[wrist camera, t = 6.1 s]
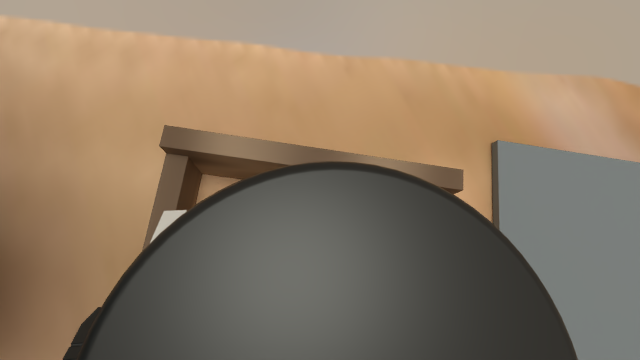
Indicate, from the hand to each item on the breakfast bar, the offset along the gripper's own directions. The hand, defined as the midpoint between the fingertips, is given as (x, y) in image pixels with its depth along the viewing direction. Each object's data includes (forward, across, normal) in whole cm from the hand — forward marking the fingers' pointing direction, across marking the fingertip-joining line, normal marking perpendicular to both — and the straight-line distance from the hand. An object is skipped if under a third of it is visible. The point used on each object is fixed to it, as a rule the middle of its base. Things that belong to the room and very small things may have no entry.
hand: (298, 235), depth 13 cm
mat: (+2, +18, -6) cm, 19 cm away
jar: (+1, 0, -6) cm, 6 cm away
